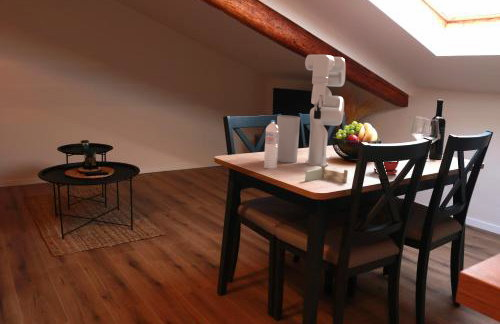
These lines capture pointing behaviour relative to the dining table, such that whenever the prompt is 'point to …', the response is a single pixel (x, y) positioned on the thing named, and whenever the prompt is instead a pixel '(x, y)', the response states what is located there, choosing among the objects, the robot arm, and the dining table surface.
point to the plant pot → (390, 167)
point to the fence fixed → (334, 175)
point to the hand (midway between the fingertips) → (317, 118)
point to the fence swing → (313, 174)
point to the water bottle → (271, 146)
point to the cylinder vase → (288, 138)
